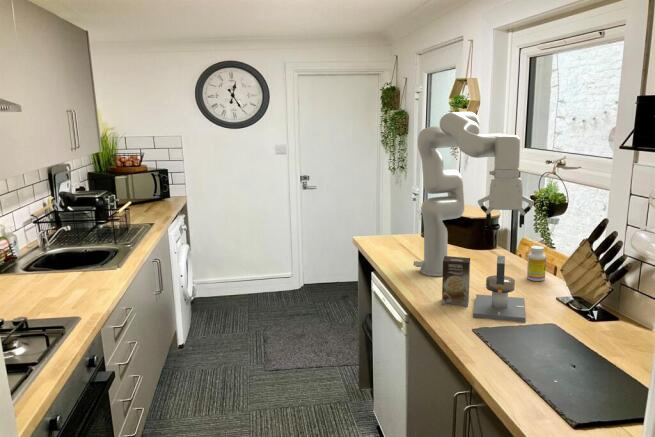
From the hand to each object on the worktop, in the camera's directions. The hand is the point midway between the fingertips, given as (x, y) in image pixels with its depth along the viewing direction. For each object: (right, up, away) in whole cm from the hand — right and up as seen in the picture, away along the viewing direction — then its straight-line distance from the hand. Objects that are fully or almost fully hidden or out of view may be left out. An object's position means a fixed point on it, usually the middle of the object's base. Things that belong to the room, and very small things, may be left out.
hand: (504, 226), depth 169 cm
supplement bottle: (+24, -21, +34) cm, 47 cm away
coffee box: (-13, -27, +12) cm, 33 cm away
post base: (0, -28, +5) cm, 29 cm away
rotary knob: (-1, -21, +2) cm, 21 cm away
